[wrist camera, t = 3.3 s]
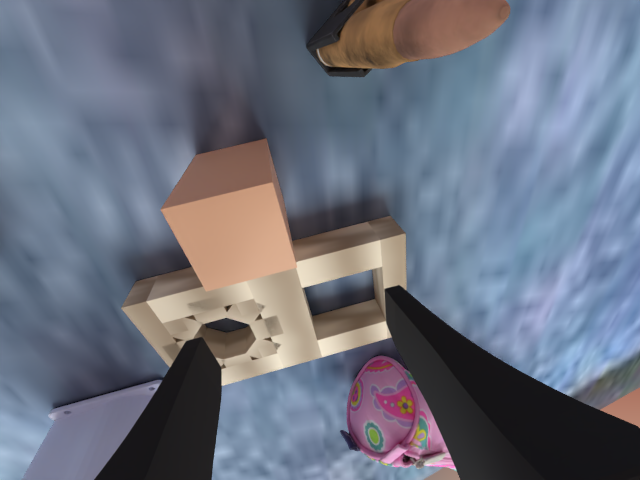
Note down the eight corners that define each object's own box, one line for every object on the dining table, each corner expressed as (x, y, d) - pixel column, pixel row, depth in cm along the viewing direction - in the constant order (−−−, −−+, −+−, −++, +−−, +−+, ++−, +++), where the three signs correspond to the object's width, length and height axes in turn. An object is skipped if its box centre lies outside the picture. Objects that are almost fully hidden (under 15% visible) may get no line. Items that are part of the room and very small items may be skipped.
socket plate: (197, 366, 25) (191, 394, 23) (135, 281, 19) (121, 308, 17) (394, 311, 26) (406, 332, 24) (390, 215, 20) (405, 233, 18)
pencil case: (327, 387, 30) (351, 493, 23) (387, 334, 28) (436, 436, 20) (440, 420, 40) (482, 502, 33) (492, 384, 37) (552, 465, 30)
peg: (222, 217, 18) (205, 291, 12) (195, 154, 16) (160, 209, 10) (284, 201, 18) (297, 267, 12) (266, 138, 16) (272, 182, 10)
